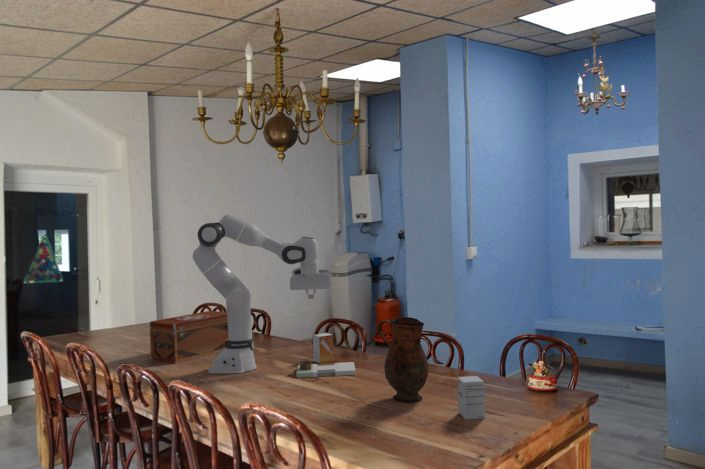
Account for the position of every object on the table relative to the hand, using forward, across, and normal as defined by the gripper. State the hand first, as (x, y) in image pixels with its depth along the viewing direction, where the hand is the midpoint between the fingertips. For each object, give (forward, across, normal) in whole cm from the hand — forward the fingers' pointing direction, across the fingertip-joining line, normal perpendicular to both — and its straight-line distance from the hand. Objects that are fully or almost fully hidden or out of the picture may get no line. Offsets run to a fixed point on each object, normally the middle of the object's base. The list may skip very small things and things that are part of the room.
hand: (311, 298), depth 292 cm
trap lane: (+31, -6, +20) cm, 37 cm away
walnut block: (+29, +3, +20) cm, 36 cm away
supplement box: (+32, -55, +91) cm, 111 cm away
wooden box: (+31, +64, -34) cm, 79 cm away
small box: (+31, -5, -2) cm, 32 cm away
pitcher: (+31, -35, +66) cm, 81 cm away
